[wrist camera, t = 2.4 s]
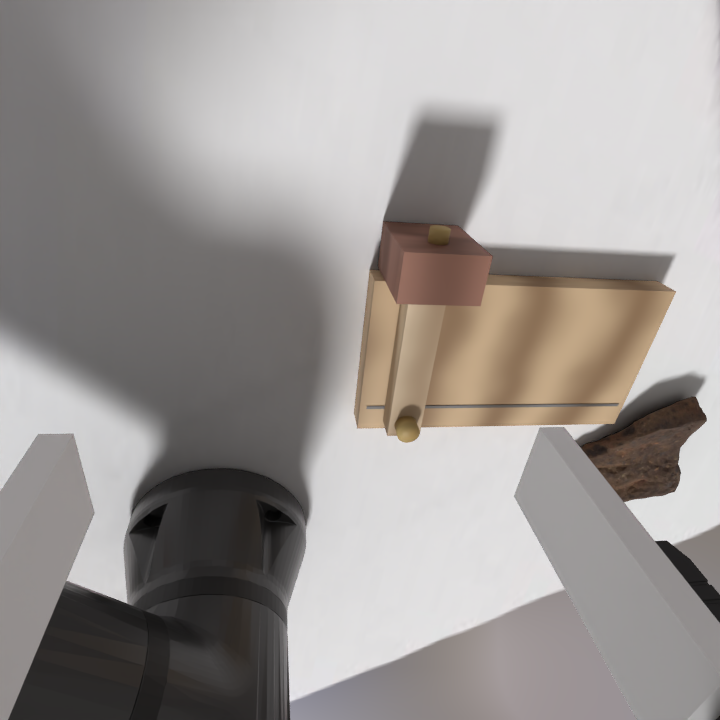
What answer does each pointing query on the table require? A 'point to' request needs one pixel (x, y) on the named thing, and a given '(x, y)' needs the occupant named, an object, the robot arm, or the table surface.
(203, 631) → the robot arm
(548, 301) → the board
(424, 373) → the block
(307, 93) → the table surface
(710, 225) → the table surface
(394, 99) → the table surface
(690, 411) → the rock
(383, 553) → the table surface
